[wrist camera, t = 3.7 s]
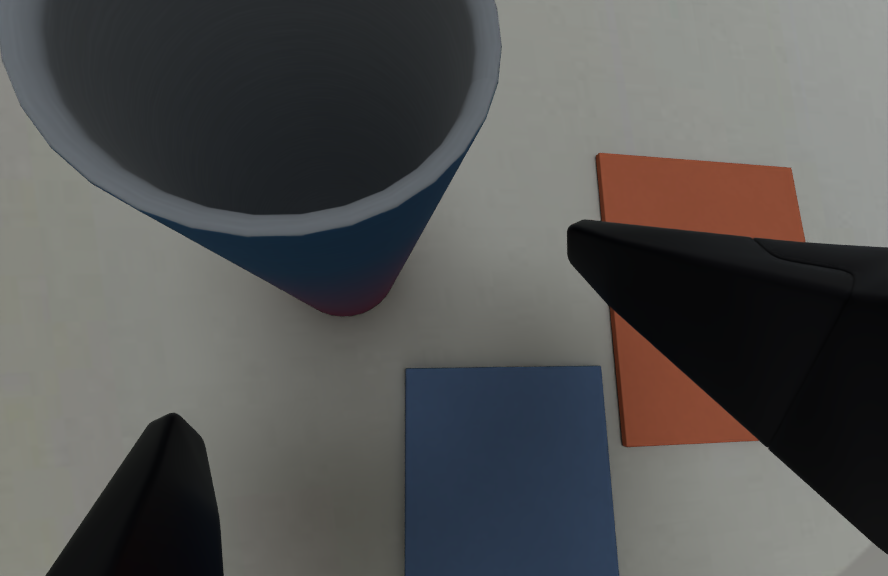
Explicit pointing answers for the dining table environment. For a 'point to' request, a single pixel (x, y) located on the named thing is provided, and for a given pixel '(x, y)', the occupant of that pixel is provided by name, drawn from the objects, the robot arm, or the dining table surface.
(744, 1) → the dining table surface
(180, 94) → the cup
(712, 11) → the dining table surface
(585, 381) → the blue mat
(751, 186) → the terracotta mat
